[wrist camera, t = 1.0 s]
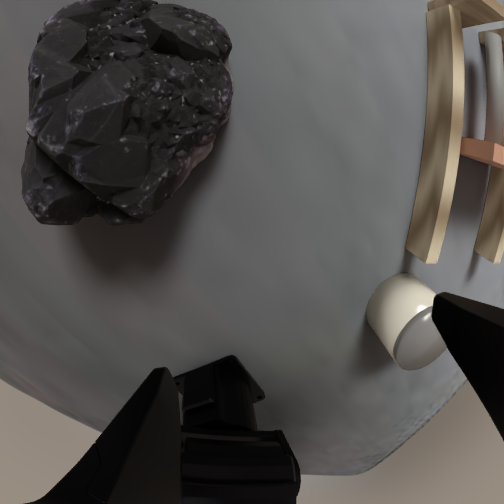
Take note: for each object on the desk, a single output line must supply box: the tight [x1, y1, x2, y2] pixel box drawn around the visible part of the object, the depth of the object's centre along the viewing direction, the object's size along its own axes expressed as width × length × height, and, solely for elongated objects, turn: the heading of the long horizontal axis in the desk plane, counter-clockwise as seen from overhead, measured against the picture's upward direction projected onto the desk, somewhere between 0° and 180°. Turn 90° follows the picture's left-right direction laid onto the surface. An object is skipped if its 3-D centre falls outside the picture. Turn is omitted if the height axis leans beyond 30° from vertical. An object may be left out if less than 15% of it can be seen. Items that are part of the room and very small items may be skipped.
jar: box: [366, 273, 447, 370], centre depth 22 cm, size 6×6×6 cm
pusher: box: [460, 32, 504, 169], centre depth 14 cm, size 11×7×6 cm, turn 176°
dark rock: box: [21, 0, 234, 226], centre depth 12 cm, size 13×14×10 cm
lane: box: [405, 0, 504, 263], centre depth 16 cm, size 21×10×6 cm, turn 176°
